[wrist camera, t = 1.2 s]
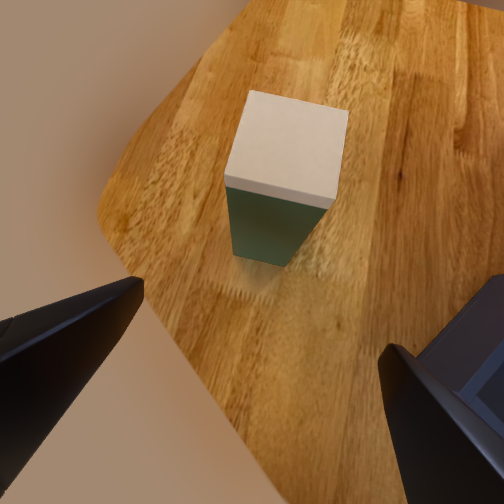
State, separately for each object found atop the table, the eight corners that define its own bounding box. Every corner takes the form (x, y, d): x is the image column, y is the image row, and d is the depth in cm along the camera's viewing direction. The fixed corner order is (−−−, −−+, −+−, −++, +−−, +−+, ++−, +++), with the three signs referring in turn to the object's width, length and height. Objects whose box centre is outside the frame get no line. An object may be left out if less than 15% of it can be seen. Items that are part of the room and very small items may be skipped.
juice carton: (284, 267, 23) (336, 199, 11) (233, 254, 23) (223, 174, 11) (294, 219, 24) (349, 110, 12) (245, 208, 25) (249, 89, 12)
